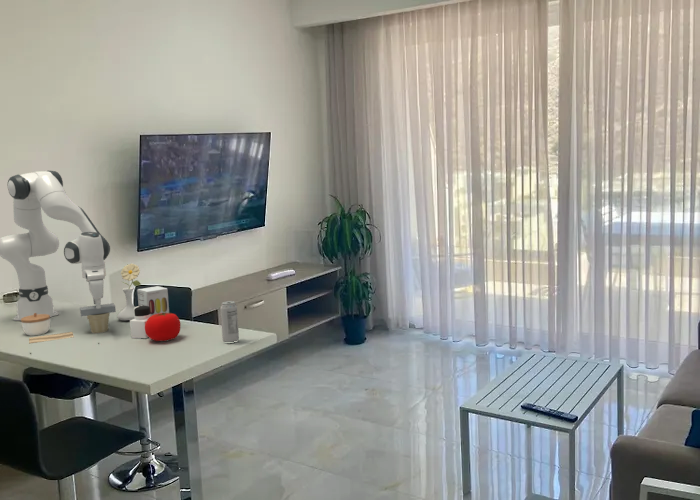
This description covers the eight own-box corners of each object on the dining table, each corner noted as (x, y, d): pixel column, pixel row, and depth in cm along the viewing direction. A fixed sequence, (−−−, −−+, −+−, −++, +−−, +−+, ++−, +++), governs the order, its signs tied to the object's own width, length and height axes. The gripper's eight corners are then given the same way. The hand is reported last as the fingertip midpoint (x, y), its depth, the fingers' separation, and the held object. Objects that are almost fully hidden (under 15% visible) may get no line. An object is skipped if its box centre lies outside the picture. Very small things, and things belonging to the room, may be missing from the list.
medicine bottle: (157, 334, 265) (154, 304, 263) (146, 339, 258) (143, 308, 257) (142, 333, 267) (139, 304, 266) (130, 338, 260) (128, 308, 259)
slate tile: (80, 313, 269) (79, 307, 269) (114, 309, 275) (113, 303, 275) (81, 316, 264) (80, 310, 264) (115, 311, 270) (115, 305, 269)
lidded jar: (40, 339, 265) (38, 316, 264) (17, 339, 268) (14, 316, 266) (57, 332, 276) (55, 310, 274) (34, 332, 278) (32, 310, 277)
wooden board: (29, 340, 265) (29, 337, 264) (72, 334, 271) (72, 331, 271) (29, 346, 256) (29, 343, 255) (74, 339, 262) (73, 337, 262)
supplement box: (149, 332, 268) (145, 291, 265) (139, 329, 275) (136, 289, 272) (171, 328, 274) (168, 287, 272) (161, 324, 281) (158, 285, 278)
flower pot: (91, 331, 275) (89, 310, 274) (115, 329, 276) (113, 309, 275) (84, 337, 266) (82, 315, 264) (108, 335, 266) (106, 314, 265)
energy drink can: (233, 338, 252) (230, 300, 250) (242, 341, 248) (239, 302, 246) (219, 342, 248) (216, 303, 246) (228, 345, 244) (226, 305, 242)
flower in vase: (111, 321, 290) (105, 265, 287) (129, 315, 301) (124, 261, 297) (135, 323, 285) (130, 265, 282) (152, 317, 296) (147, 261, 293)
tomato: (171, 344, 248) (169, 317, 247) (139, 344, 250) (137, 317, 249) (187, 334, 262) (185, 308, 261) (157, 334, 264) (155, 308, 263)
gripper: (83, 269, 275) (86, 302, 277) (87, 276, 257) (91, 311, 259) (99, 268, 278) (102, 300, 280) (104, 274, 260) (108, 309, 262)
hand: (97, 306), depth 269 cm, fingers open, 8 cm apart
